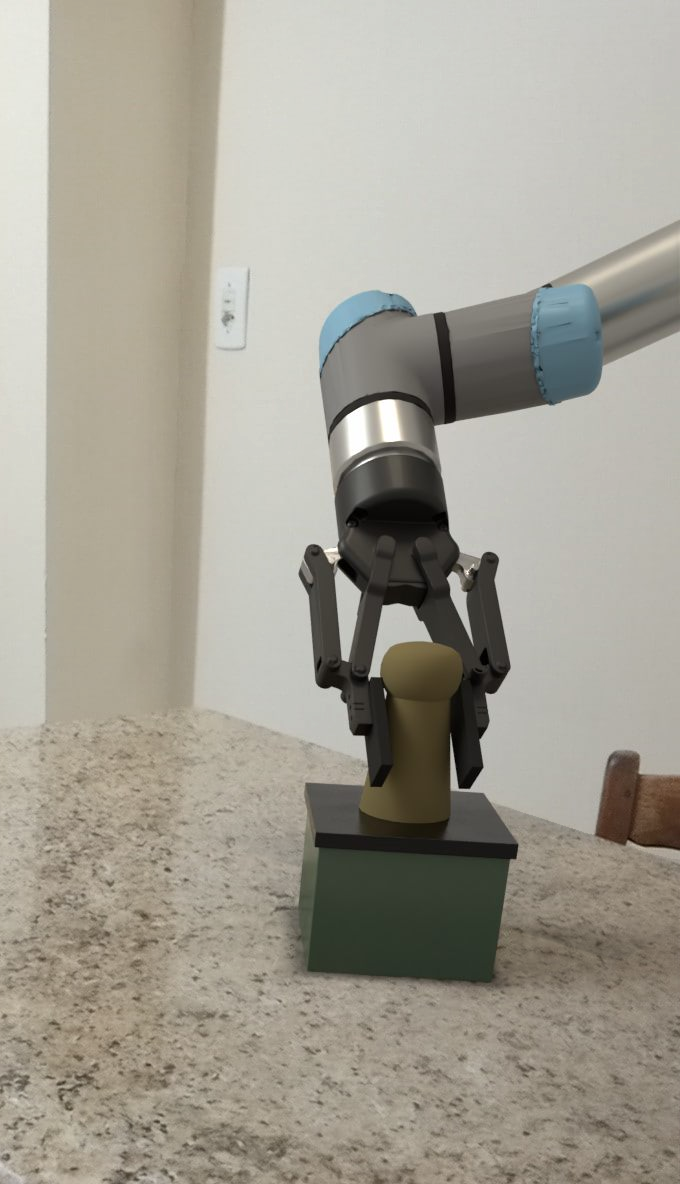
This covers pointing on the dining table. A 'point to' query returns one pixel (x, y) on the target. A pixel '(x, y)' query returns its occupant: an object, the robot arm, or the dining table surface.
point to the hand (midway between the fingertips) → (426, 776)
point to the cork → (416, 733)
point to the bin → (402, 888)
